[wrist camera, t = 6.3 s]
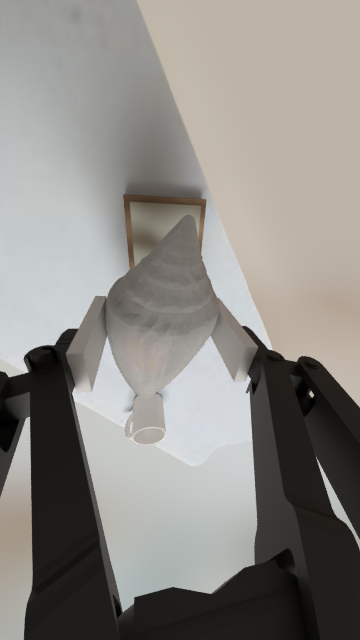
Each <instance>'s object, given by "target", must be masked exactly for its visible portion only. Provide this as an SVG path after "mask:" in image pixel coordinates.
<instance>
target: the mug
mask: <svg viewBox="0 0 360 640" xmlns="http://www.w3.org/2000/svg"><path fill="white" fill-rule="evenodd" d="M132 420H133V426H132V434H131V433H130V425H131V422H132ZM125 435H126V437H127V438H128V439H129V440H133V442H134V443H136V444H138V445H153V444H156V443H158V442H160V441H162V440H163V439H164V438H165V436H166V429H165V419H164V410H163V401H162V398H161V396H160V395H159V394H157V393H155V394H154V395H153V396H152V397H150V398H143V397H140V396H137V397H136V398H135V400H134V404H133V413H132V414H131V415H130V416H129V418H128V420H127V422H126V425H125Z"/></svg>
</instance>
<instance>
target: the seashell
mask: <svg viewBox="0 0 360 640" xmlns="http://www.w3.org/2000/svg"><path fill="white" fill-rule="evenodd" d="M218 313H219V302H218V299H217V296H216V295H215V293H214V291H213V288H212V285H211V281H210V279H209V277H208V275H207V273H206V268H205V266H204V263H203V261H202V256H201V253H200V243H199V241H198V232H197V228H196V222H195V219H194V217H193V216H191V215H186V216H184V217H183V218H182V219H181V220H180V221H179V222H178V223H177V224H176V225H175V226H174V227H173V228H172V229H171V230H170V231H169V232H168V234H167V235H166V236H165V237H164V238H163V239H162V240H160V242H159V244H158V245H157V246H156V247H154V248H153V249H152V251H151V252H150V254H149V255H147V256H146V257H144V258H142V259H141V261H140V262H139V263H138V264H137V265H136V266H135V267H134V268H132V269H131V270H129V272H128V273H127V274H126V275H125V276H123V277H122V278H120V279H118V280H117V281H116V282H115V283H114V285H113V286H112V288H111V289H110V291H109V293H108V297H107V301H106V307H105V320H106V329H107V335H108V339H109V343H110V347H111V350H112V354H113V356H114V359H115V362H116V364H117V366H118V368H119V370H120V372H121V374H122V375H123V377H124V379H125V380H126V382H127V383H128V385H129V386H130V387H131V388H132V389H133V391H134V392H135V393H136V394H137V395H138V396H140V397H143V398H150V397H152V396H153V395H154V394H155V393H156V392H157V391H159V390H161V389H162V388H163V387H165V386H166V385H167V384H169V383H170V382H171V381H172V380H173V379H174V378H175V377H176V376H177V375H178V374H179V373H180V372H181V371H182V370H183V369H184V368H185V367H186V366H187V365H188V364H189V362H190V361H191V360H192V359H193V357H194V356H195V355H196V354H197V352H198V351H199V350H200V349H201V348H202V346H203V345H204V344H205V342H206V341H207V339H208V338H209V336H210V335H211V333H212V331H213V329H214V326H215V324H216V321H217V318H218Z"/></svg>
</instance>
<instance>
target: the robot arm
mask: <svg viewBox="0 0 360 640" xmlns="http://www.w3.org/2000/svg"><path fill="white" fill-rule="evenodd" d="M217 299H218V302H219V313H218V318H217V321H216V324H215V326H214V329H213V331H212V333H211V337H212V339H213V341H214V343H215V345H216V347H217V349H218V351H219V353H220V355H221V357H222V359H223V361H224V363H225V365H226V367H227V369H228V371H229V373H230V375H231V376H232V378H233V380H234V382H238V381H246V378H247V375H249V377H250V378H251V380H250V383H249V385H248V388H247V391H246V393H248V392H249V390H250V405H251V422H252V439H253V455H254V470H255V488H256V505H257V532H256V537H255V547H254V548H255V565H253V566H249V567H246V568H244V569H242V570H241V571H240V572H238V573H237V574H235V575H234V576H233V577H231V578H230V579H229V580H228V581H226V582H225V583H224V584H222V585H221V586H220V587H219V588H218V589H217V590H215V591H214V592H213V593H212V594H208V593H202V592H197V591H191V590H186V589H180V588H175V587H172V588H168V589H164V590H160V591H157V592H153V593H149V594H145V595H142V596H138V597H135V598H134V604H133V605H132V606H131V607H129V608H128V609H127V610H126V611H124V612H123V611H122V607H121V603H120V599H119V594H118V589H117V585H116V581H115V577H114V573H113V569H112V565H111V562H110V557H109V553H108V549H107V544H106V540H105V536H104V531H103V527H102V523H101V518H100V514H99V509H98V505H97V500H96V496H95V492H94V488H93V483H92V478H91V474H90V470H89V466H88V461H87V456H86V452H85V447H84V443H83V439H82V434H81V430H80V425H79V421H78V417H77V412H76V408H75V403H74V399H73V395H72V392H73V389H74V387H75V389H76V393H83V392H92V389H93V385H94V382H95V378H96V374H97V371H98V367H99V363H100V360H101V356H102V352H103V349H104V345H105V342H106V338H107V329H106V320H105V307H106V301H107V299H106V296H95V298H94V300H93V302H92V304H91V306H90V308H89V310H88V312H87V314H86V316H85V318H84V320H83V321H82V323H81V325H80V327H79V329H68V330H66V331H65V332H63V333H62V334H61V336H60V337H59V340H58V341H57V342H56V345H54V346H51V345H46V346H40V347H37V348H34V349H33V350H31V351H29V352H28V353H27V354H26V355H25V357H24V362H25V364H26V366H27V369H28V371H29V372H28V373H25V374H21V375H18V376H13V377H8V375H7V374H6V373H5V372H1V371H0V496H1V493H2V490H3V487H4V483H5V481H6V478H7V474H8V471H9V468H10V465H11V462H12V459H13V456H14V453H15V450H16V447H17V444H18V441H19V437H20V435H21V432H22V428H23V425H24V422H25V419H26V418H27V417H30V432H31V433H30V437H31V499H32V553H33V554H32V558H33V584H32V591H31V594H30V597H29V600H28V603H27V608H26V615H25V629H24V640H360V550H359V547H358V544H357V542H356V540H355V538H354V535H353V533H352V531H351V530H350V529H349V527H348V526H347V525H346V524H345V523H344V522H343V521H341V520H340V519H339V518H337V516H336V515H335V514H334V511H333V509H332V507H331V503H330V500H329V497H328V494H327V491H326V488H325V485H324V481H323V478H322V475H321V472H320V469H319V465H318V462H317V459H318V461H319V463H320V465H321V467H322V468H323V470H324V472H325V474H326V476H327V478H328V480H329V482H330V484H331V485H332V488H333V489H334V491H335V493H336V495H337V497H338V499H339V501H340V503H341V505H342V506H343V508H344V510H345V512H346V514H347V516H348V518H349V520H350V522H351V523H352V526H353V528H354V529H355V531H356V533H357V535H358V537H359V539H360V408H359V406H358V405H357V404H356V403H355V402H354V401H353V399H352V398H351V397H350V396H349V395H348V394H347V393H346V391H345V390H344V389H343V388H342V387H341V386H340V385H339V383H338V382H337V381H336V380H335V379H334V378H333V377H332V375H331V374H330V373H329V372H328V371H327V370H326V368H325V367H324V366H323V365H322V364H321V363H320V362H318V361H317V360H315V359H313V358H311V357H306V356H301V357H299V359H298V361H297V362H294V361H288V360H285V359H284V357H283V356H282V355H281V354H279V353H277V352H275V351H272V350H268V349H267V347H266V346H265V345H264V344H263V343H262V342H261V340H260V339H258V337H257V336H256V335H255V333H254V332H253V331H252V330H251V329H249V328H248V327H246V326H241V325H240V324H239V322H238V321H237V320H236V319H235V317H234V316H233V315H232V314H231V312H230V311H229V310H228V309H227V307H226V306H225V305H224V304H223V302H222V301H221V300H220V299H219V298H217ZM310 391H312V392H313V394H314V397H313V398H312V397H311V396H310V395H309V393H310ZM315 455H316V456H315ZM316 457H317V459H316Z"/></svg>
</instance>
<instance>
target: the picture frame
mask: <svg viewBox="0 0 360 640" xmlns="http://www.w3.org/2000/svg"><path fill="white" fill-rule="evenodd" d="M123 196H124V208H125V219H126V230H127V241H128V252H129V263H130V270H131V269H132V268H134V267H135V266H136V265H137V264H138V263H139V262H140V261H141V259H142V258H144V257H146V256H147V255H149V254H150V252H151V251H152V249H153V248H154V247H156V246H157V245H158V244H159V242H160V240H162V239H163V238H164V237H165V236H166V235H167V234H168V232H169V231H170V230H171V229H172V228H173V227H174V226H175V225H176V224H177V223H178V222H179V221H180V220H181V219H182V218H183V217H184V216H186V215H191V216H193V217H194V219H195V222H196V228H197V232H198V241H199V243H200V253H201V247H202V238H203V228H204V218H205V208H206V200H205V199H189V198H173V197H157V196H140V195H124V194H123Z"/></svg>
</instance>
